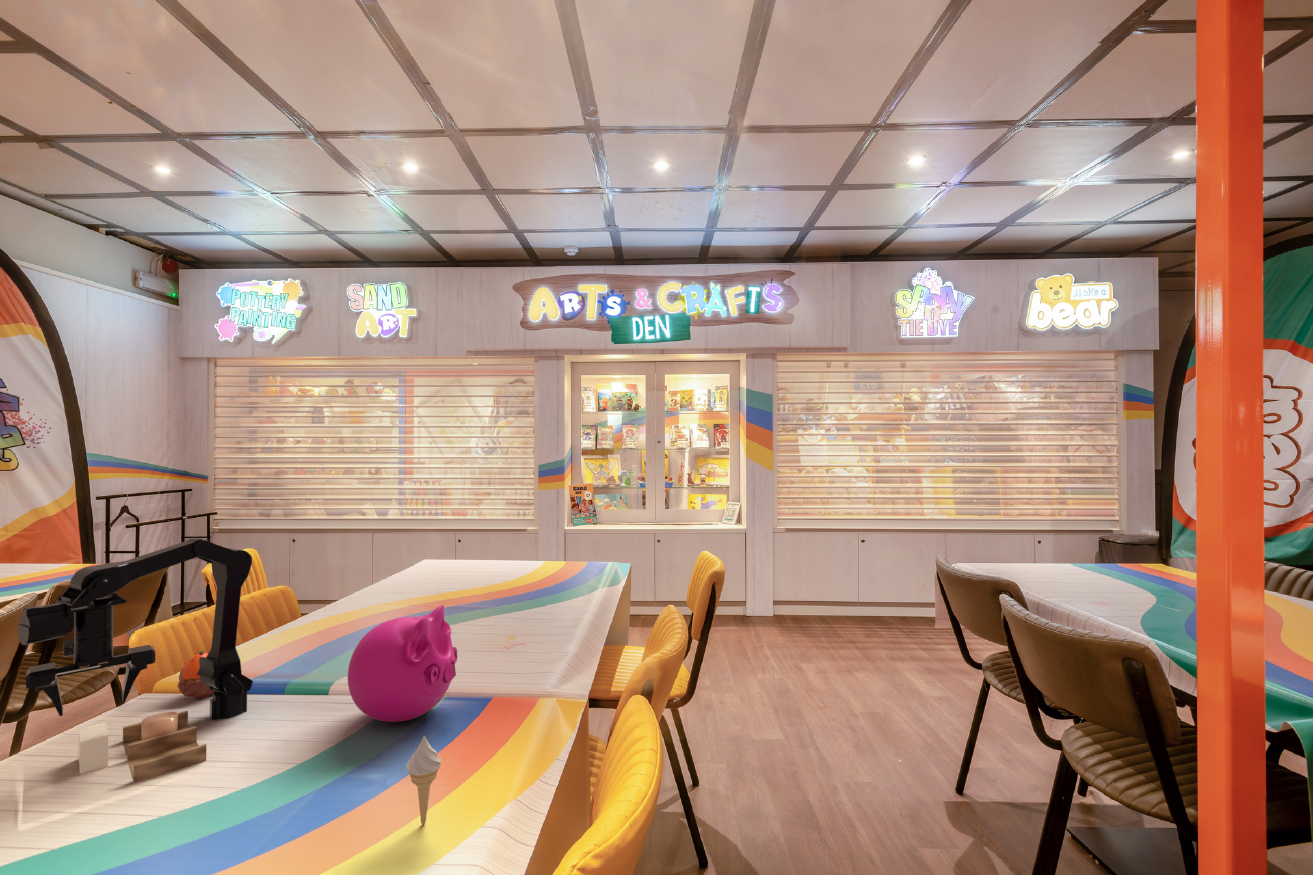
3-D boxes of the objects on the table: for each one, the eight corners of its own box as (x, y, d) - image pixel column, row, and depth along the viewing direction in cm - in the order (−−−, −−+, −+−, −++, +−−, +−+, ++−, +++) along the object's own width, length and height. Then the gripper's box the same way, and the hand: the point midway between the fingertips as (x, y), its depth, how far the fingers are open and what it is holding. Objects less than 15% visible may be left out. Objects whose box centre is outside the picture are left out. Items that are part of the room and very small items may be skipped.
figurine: (436, 740, 130) (436, 625, 130) (326, 740, 130) (327, 625, 131) (471, 696, 153) (471, 598, 153) (378, 695, 154) (379, 598, 154)
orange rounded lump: (190, 689, 158) (191, 646, 158) (236, 684, 161) (237, 642, 161) (168, 708, 146) (169, 661, 146) (219, 702, 149) (219, 657, 150)
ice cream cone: (412, 815, 103) (412, 728, 104) (445, 813, 104) (445, 726, 104) (401, 836, 98) (401, 744, 98) (436, 834, 98) (436, 742, 99)
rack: (187, 727, 136) (187, 710, 136) (206, 764, 120) (206, 745, 120) (122, 744, 128) (122, 726, 128) (134, 786, 112) (134, 766, 112)
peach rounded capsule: (175, 731, 132) (175, 709, 133) (179, 740, 128) (179, 717, 128) (139, 741, 128) (139, 717, 128) (142, 751, 124) (143, 727, 124)
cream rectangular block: (104, 755, 124) (105, 722, 124) (107, 770, 118) (108, 734, 118) (78, 763, 121) (78, 728, 121) (79, 778, 115) (80, 742, 116)
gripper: (149, 612, 132) (149, 683, 132) (27, 632, 119) (27, 710, 119) (155, 623, 125) (155, 698, 124) (26, 645, 111) (25, 728, 111)
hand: (93, 707), depth 120 cm, fingers open, 9 cm apart
